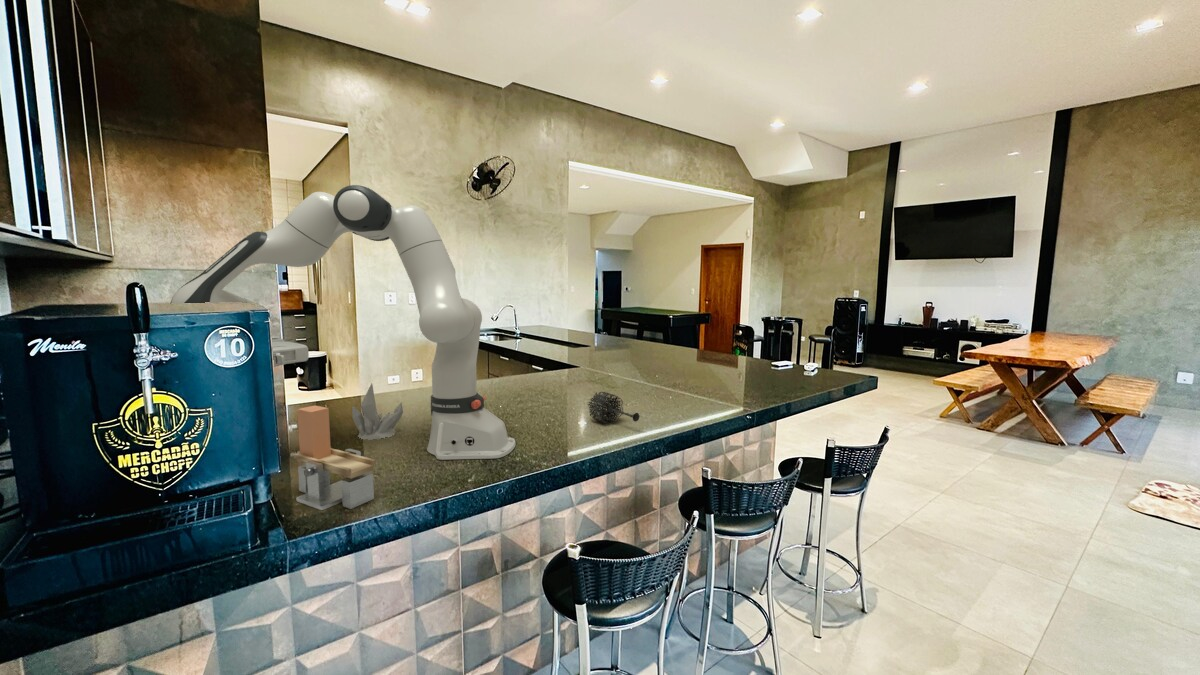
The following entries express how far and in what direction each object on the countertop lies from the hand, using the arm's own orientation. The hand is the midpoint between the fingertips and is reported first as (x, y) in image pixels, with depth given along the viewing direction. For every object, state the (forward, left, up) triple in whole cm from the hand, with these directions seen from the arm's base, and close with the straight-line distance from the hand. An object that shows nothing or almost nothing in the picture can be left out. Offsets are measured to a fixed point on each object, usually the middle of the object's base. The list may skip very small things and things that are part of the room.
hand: (276, 360), depth 102 cm
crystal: (-3, -32, -26) cm, 41 cm away
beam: (-17, +7, -19) cm, 27 cm away
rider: (-11, +5, -19) cm, 22 cm away
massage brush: (-68, -51, -26) cm, 89 cm away
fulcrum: (-17, +7, -26) cm, 32 cm away
